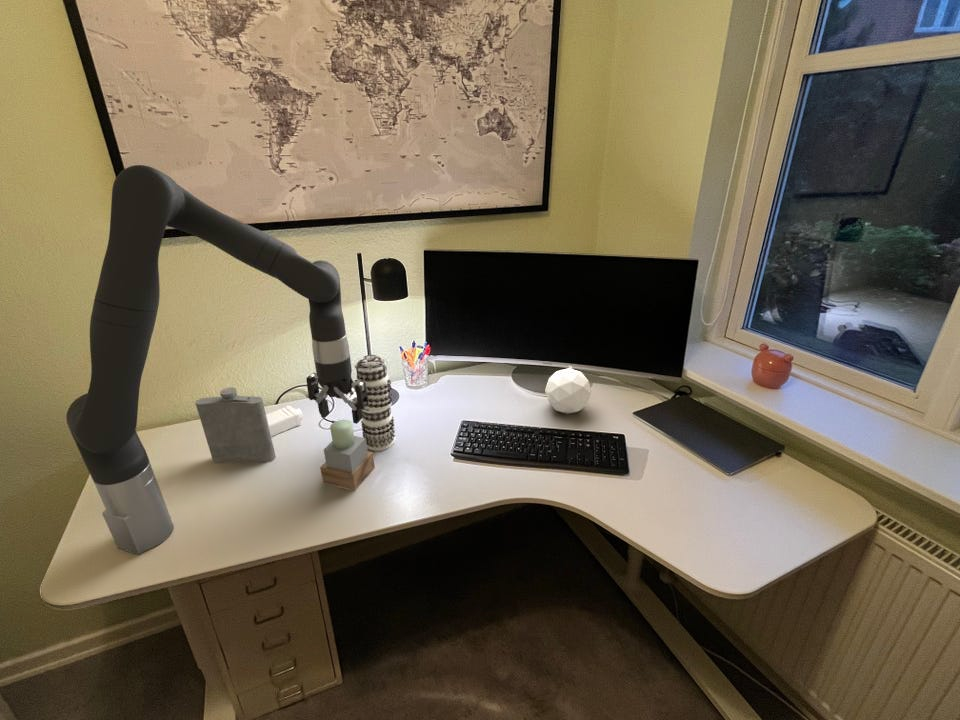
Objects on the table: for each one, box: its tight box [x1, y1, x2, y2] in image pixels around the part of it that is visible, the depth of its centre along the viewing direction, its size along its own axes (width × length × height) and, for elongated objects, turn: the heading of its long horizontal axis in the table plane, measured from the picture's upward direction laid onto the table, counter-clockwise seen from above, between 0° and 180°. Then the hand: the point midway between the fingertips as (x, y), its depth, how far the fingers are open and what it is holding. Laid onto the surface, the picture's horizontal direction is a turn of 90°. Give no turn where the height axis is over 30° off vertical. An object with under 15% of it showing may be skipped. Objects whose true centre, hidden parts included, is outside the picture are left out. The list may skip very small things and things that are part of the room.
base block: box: [319, 450, 376, 492], centre depth 118 cm, size 9×9×5 cm
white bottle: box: [266, 405, 303, 438], centre depth 138 cm, size 7×13×4 cm, turn 135°
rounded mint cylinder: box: [329, 419, 355, 450], centre depth 113 cm, size 5×5×5 cm
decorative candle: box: [354, 354, 396, 452], centre depth 126 cm, size 9×9×25 cm
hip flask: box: [195, 386, 277, 464], centre depth 121 cm, size 16×4×20 cm, turn 91°
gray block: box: [323, 435, 368, 472], centre depth 115 cm, size 7×7×5 cm
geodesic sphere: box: [544, 365, 592, 415], centre depth 144 cm, size 14×14×14 cm
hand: (341, 418), depth 111 cm, fingers open, 8 cm apart
